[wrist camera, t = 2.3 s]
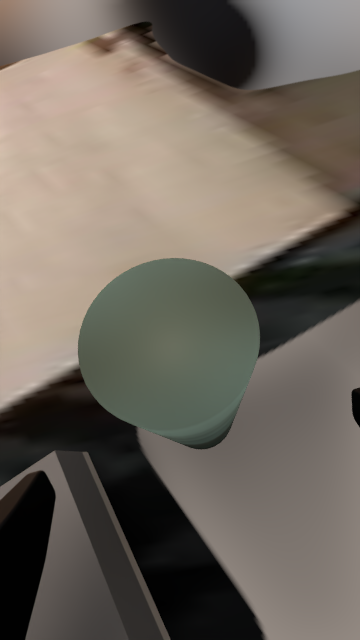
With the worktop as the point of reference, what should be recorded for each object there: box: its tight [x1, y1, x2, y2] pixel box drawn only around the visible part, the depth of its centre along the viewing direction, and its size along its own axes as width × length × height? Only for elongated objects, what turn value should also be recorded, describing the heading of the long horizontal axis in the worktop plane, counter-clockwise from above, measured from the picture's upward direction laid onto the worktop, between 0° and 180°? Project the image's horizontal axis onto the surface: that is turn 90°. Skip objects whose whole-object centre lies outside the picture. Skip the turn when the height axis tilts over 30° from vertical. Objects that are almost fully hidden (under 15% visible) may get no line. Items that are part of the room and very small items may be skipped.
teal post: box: [78, 258, 260, 449], centre depth 12 cm, size 4×4×13 cm
